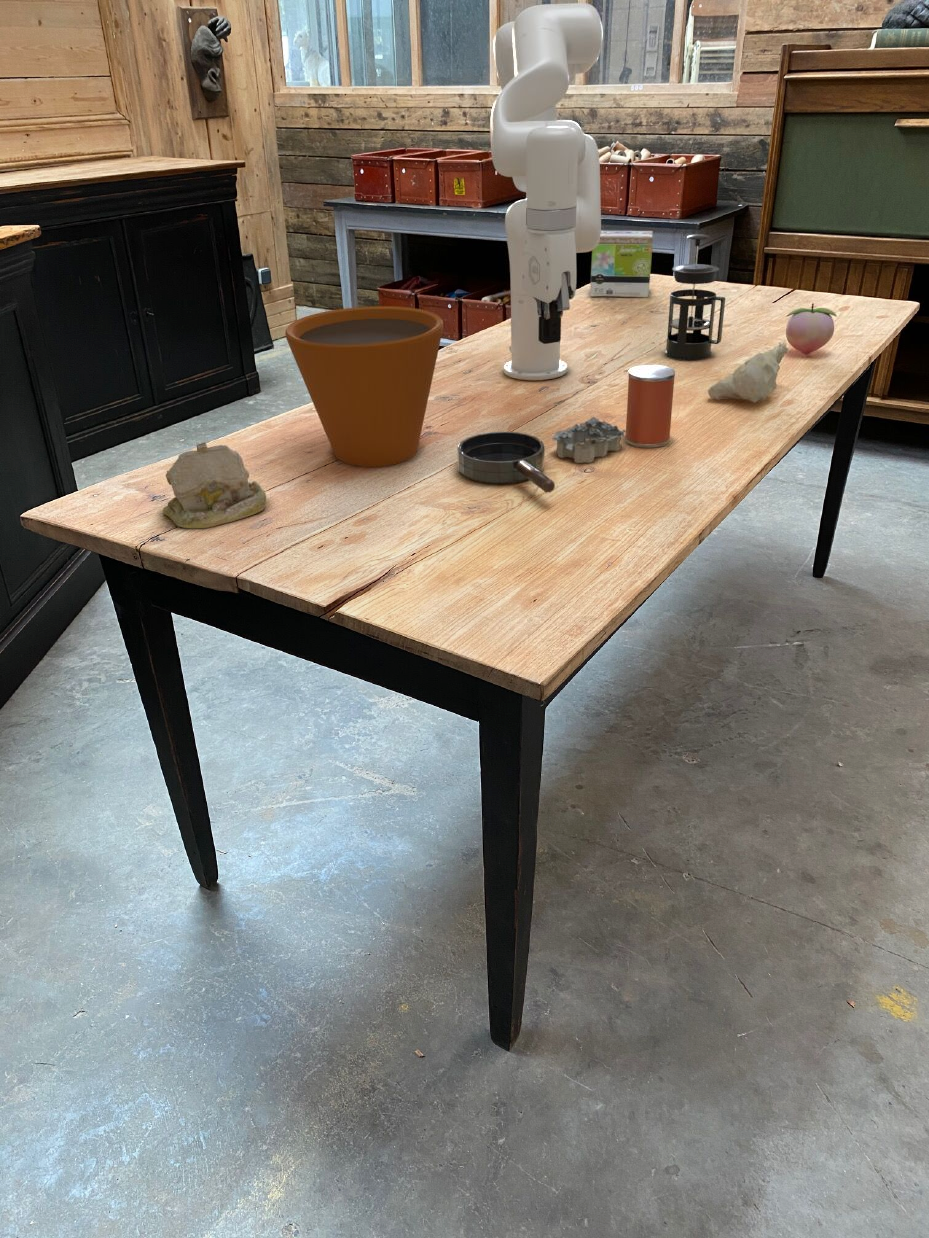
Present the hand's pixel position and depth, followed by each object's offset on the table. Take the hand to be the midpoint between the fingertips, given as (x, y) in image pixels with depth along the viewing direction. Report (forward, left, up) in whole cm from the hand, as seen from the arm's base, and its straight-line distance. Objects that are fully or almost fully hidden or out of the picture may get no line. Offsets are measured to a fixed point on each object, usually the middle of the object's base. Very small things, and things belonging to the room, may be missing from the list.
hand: (549, 341), depth 151 cm
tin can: (+13, +11, -14) cm, 22 cm away
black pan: (+13, -15, -14) cm, 24 cm away
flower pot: (-4, -29, -15) cm, 33 cm away
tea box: (-82, +63, -15) cm, 104 cm away
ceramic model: (+8, -57, -15) cm, 60 cm away
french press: (-25, +46, -15) cm, 54 cm away
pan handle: (+25, -15, -12) cm, 31 cm away
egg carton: (+13, 0, -15) cm, 19 cm away
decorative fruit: (-14, +66, -15) cm, 69 cm away
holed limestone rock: (+2, +40, -15) cm, 42 cm away
